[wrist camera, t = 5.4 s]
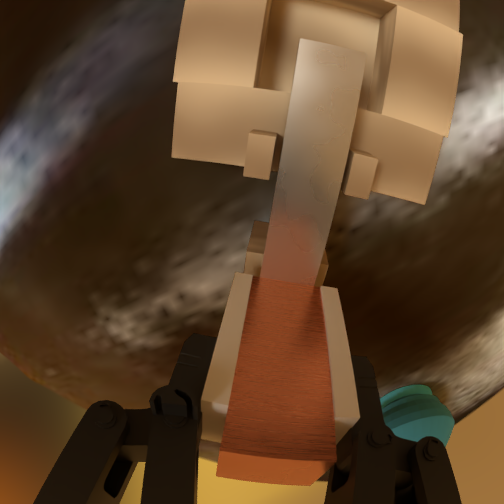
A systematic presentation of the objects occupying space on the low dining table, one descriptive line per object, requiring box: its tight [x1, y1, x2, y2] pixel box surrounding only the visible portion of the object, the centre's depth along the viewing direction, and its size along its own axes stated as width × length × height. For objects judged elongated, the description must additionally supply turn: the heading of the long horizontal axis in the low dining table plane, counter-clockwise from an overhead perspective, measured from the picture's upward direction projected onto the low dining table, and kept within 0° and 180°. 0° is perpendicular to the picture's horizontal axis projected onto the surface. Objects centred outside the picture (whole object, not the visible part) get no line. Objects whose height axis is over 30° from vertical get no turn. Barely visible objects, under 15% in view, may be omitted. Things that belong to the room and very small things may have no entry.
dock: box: [172, 0, 463, 288], centre depth 12 cm, size 18×13×5 cm
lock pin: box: [216, 38, 366, 486], centre depth 9 cm, size 12×3×10 cm, turn 173°
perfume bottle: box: [380, 384, 455, 447], centre depth 19 cm, size 9×9×15 cm
